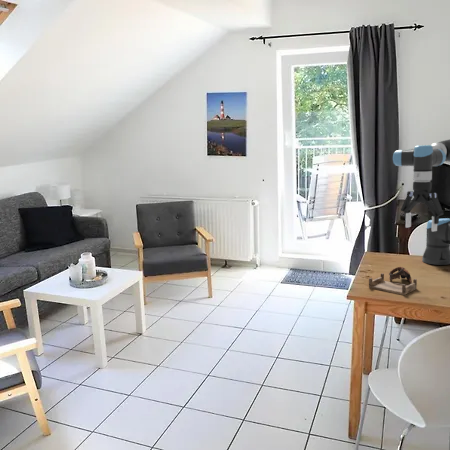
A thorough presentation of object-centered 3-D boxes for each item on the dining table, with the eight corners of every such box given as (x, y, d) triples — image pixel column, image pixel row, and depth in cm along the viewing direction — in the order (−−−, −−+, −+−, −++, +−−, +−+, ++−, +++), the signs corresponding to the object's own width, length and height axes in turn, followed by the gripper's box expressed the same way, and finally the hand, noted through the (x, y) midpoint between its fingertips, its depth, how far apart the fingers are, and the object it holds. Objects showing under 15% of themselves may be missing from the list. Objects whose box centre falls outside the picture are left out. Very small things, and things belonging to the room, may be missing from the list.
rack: (381, 282, 233) (381, 273, 232) (416, 288, 221) (416, 279, 220) (368, 288, 225) (369, 278, 224) (404, 295, 213) (404, 285, 212)
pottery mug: (412, 286, 225) (404, 271, 224) (393, 292, 230) (385, 278, 230) (415, 274, 235) (406, 260, 234) (396, 281, 240) (388, 267, 240)
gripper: (393, 180, 221) (392, 226, 224) (442, 183, 200) (440, 233, 203) (404, 179, 225) (403, 224, 228) (453, 181, 203) (451, 231, 207)
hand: (420, 229), depth 216 cm, fingers open, 13 cm apart
